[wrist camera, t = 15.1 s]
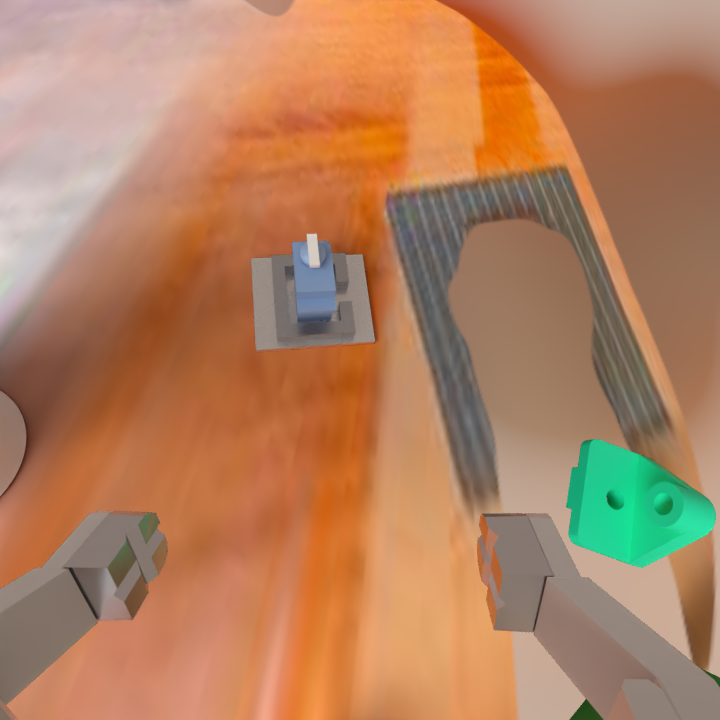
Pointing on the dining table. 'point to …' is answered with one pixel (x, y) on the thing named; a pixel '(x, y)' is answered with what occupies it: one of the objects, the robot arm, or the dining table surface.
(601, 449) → the camera mount
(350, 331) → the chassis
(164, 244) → the dining table surface
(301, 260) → the servo
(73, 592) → the robot arm
